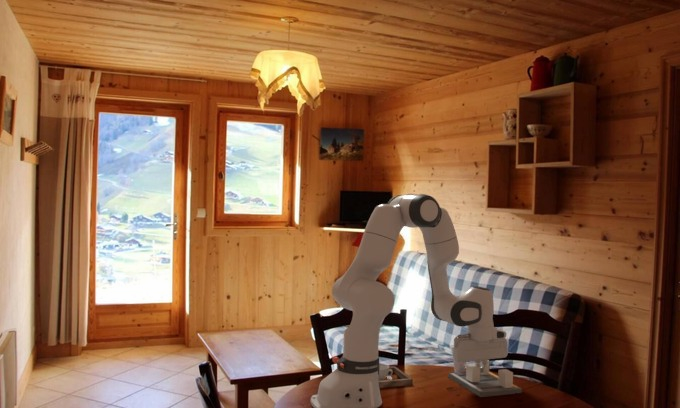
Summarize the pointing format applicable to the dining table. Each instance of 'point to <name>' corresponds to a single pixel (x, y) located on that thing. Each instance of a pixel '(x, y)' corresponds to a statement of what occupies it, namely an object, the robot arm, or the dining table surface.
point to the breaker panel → (488, 382)
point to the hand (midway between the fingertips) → (480, 372)
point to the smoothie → (458, 364)
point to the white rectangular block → (473, 372)
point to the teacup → (384, 372)
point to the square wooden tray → (399, 382)
